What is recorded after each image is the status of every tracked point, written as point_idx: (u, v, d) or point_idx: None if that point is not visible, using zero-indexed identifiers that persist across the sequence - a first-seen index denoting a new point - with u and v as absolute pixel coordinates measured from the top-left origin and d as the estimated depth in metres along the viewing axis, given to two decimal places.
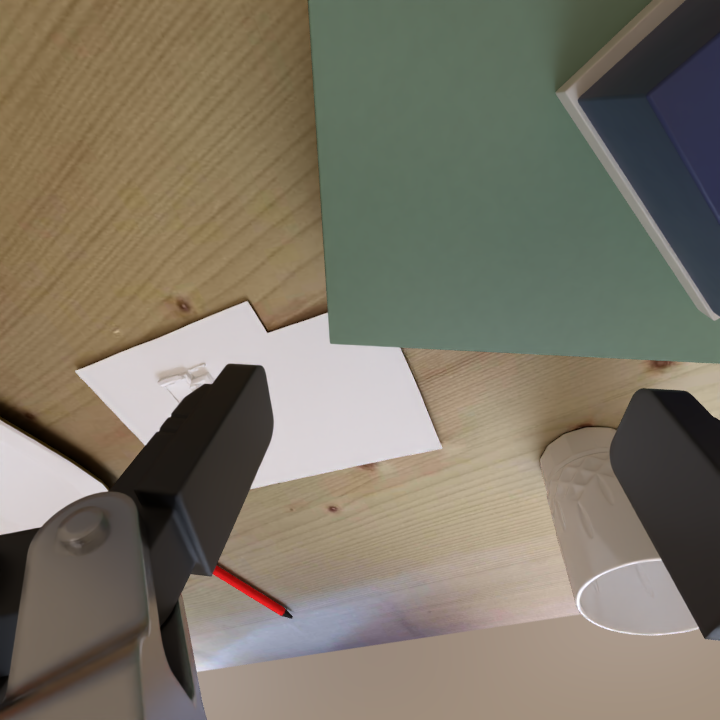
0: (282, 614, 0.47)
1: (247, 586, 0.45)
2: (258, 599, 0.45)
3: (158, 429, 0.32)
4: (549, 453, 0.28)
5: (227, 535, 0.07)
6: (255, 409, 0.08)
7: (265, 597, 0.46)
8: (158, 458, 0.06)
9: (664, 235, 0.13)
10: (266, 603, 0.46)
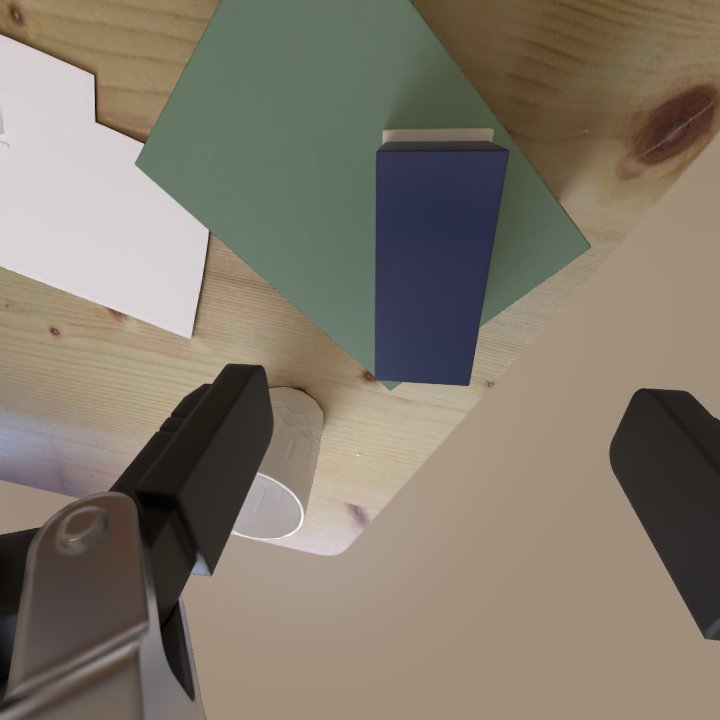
0: None
1: None
2: None
3: None
4: None
5: (227, 535, 0.07)
6: (255, 409, 0.08)
7: None
8: (158, 458, 0.06)
9: None
10: None
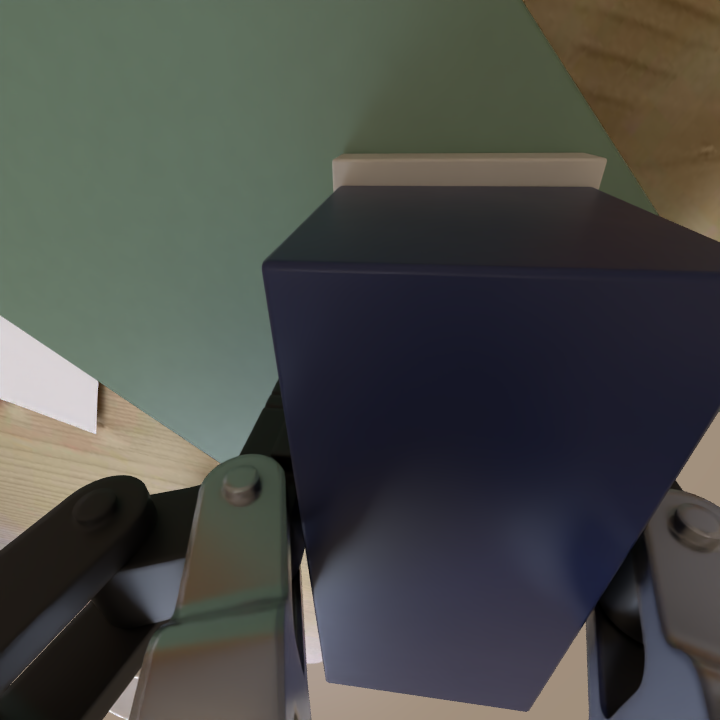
0: None
1: None
2: None
3: None
4: None
5: None
6: None
7: None
8: (283, 428, 0.07)
9: None
10: None
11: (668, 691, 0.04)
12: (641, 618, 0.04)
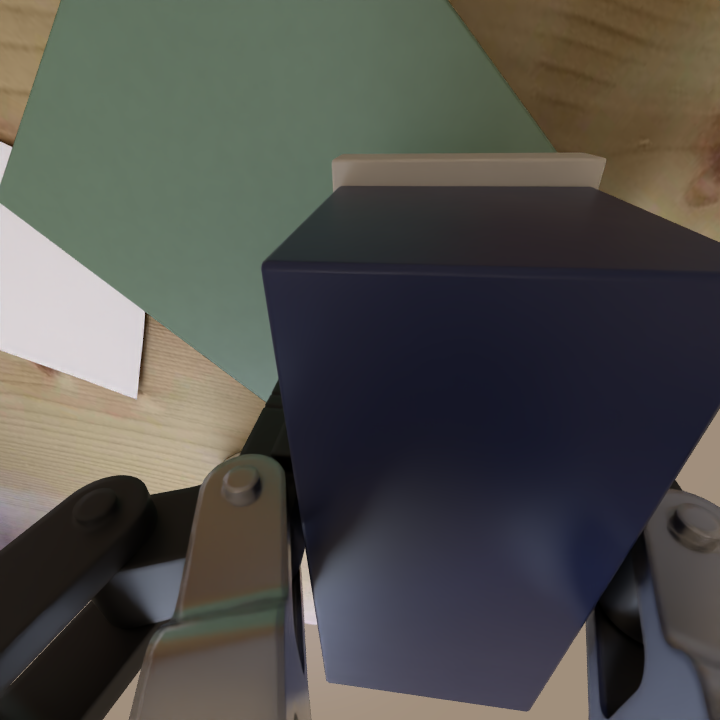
0: None
1: None
2: None
3: None
4: None
5: None
6: None
7: None
8: (283, 428, 0.07)
9: None
10: None
11: (668, 691, 0.04)
12: (641, 618, 0.04)
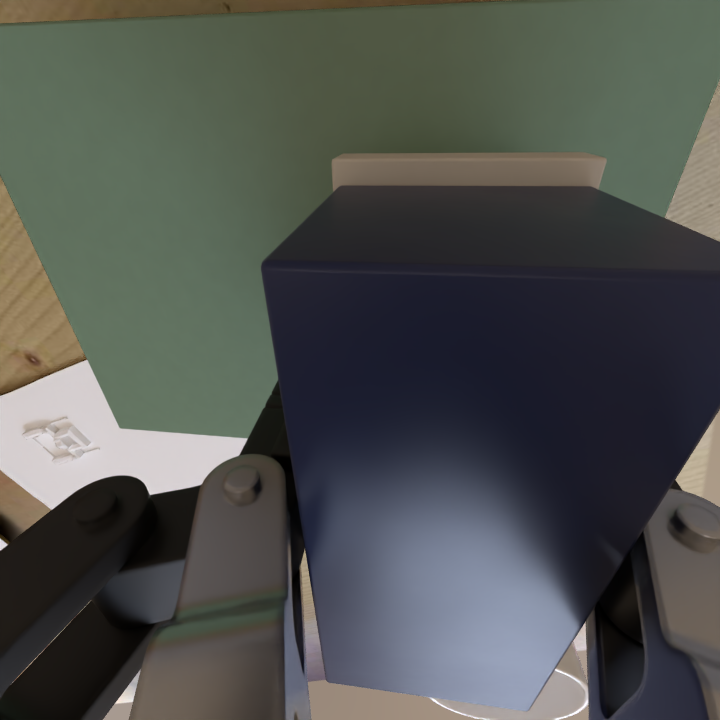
0: None
1: None
2: None
3: (38, 478, 0.31)
4: None
5: None
6: None
7: None
8: (283, 428, 0.07)
9: None
10: None
11: (668, 690, 0.04)
12: (640, 618, 0.04)
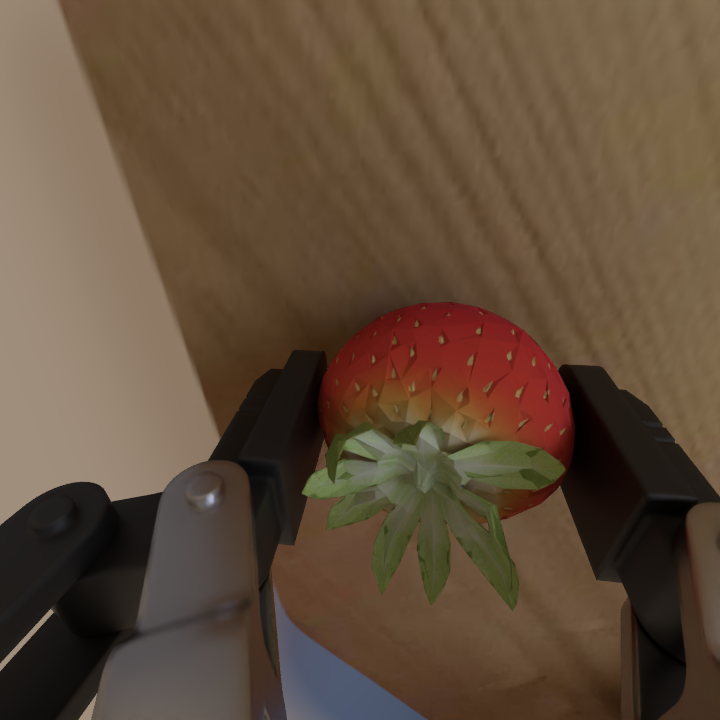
0: None
1: None
2: None
3: None
4: None
5: (303, 509, 0.08)
6: None
7: None
8: (252, 433, 0.07)
9: None
10: None
11: (711, 705, 0.03)
12: None
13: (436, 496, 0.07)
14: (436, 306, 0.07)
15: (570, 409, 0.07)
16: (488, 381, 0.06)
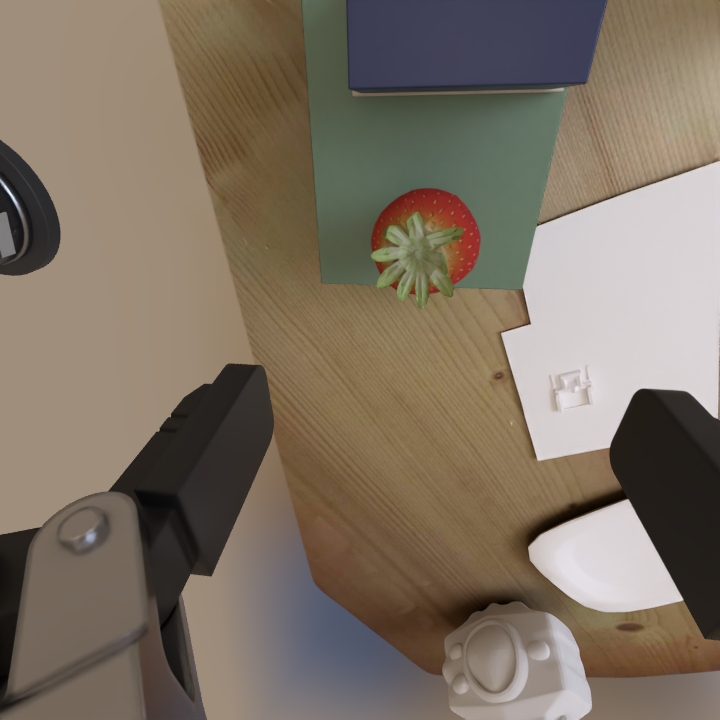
0: None
1: None
2: None
3: (609, 428, 0.38)
4: None
5: (227, 535, 0.07)
6: (255, 409, 0.08)
7: None
8: (158, 458, 0.06)
9: (469, 91, 0.18)
10: None
11: None
12: None
13: (422, 267, 0.18)
14: (422, 188, 0.18)
15: (477, 229, 0.18)
16: (441, 208, 0.17)
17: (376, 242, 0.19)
